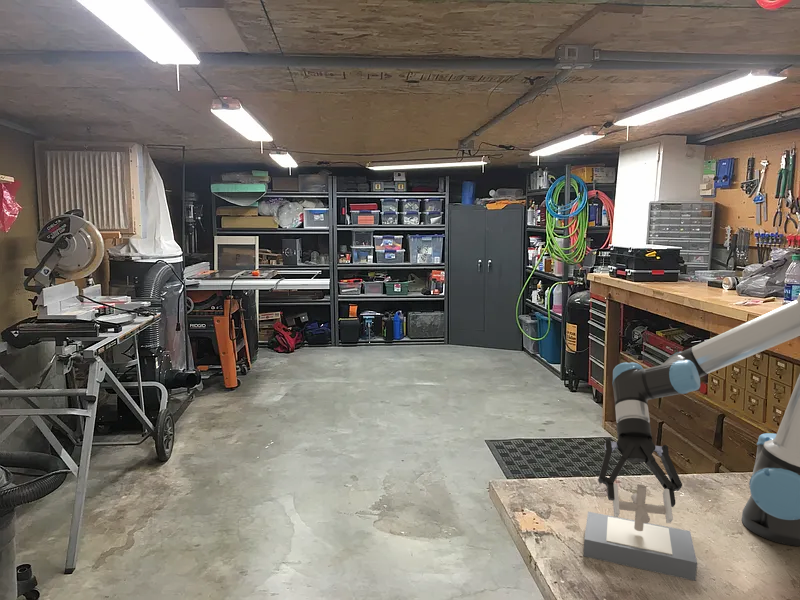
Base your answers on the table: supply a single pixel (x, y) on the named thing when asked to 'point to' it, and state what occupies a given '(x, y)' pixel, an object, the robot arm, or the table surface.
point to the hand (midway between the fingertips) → (643, 518)
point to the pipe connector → (641, 508)
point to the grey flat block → (640, 545)
